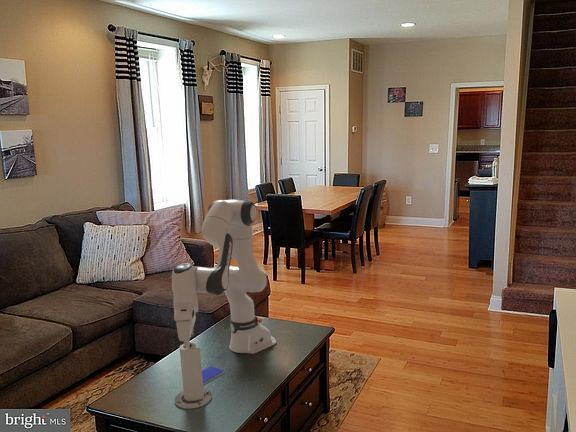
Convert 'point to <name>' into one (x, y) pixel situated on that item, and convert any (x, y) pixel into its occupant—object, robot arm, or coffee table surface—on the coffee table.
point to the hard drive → (210, 374)
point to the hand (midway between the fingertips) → (189, 341)
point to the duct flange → (186, 404)
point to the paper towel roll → (191, 372)
